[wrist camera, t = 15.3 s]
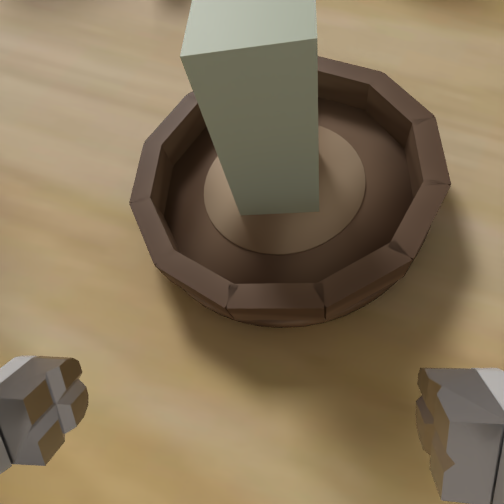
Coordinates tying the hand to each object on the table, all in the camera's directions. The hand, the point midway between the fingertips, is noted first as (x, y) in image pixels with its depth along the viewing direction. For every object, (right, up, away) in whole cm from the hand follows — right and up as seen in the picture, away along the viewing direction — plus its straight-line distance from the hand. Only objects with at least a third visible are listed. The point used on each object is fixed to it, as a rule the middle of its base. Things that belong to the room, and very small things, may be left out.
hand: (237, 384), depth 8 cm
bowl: (+2, +7, +14) cm, 16 cm away
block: (+2, +7, +13) cm, 15 cm away
